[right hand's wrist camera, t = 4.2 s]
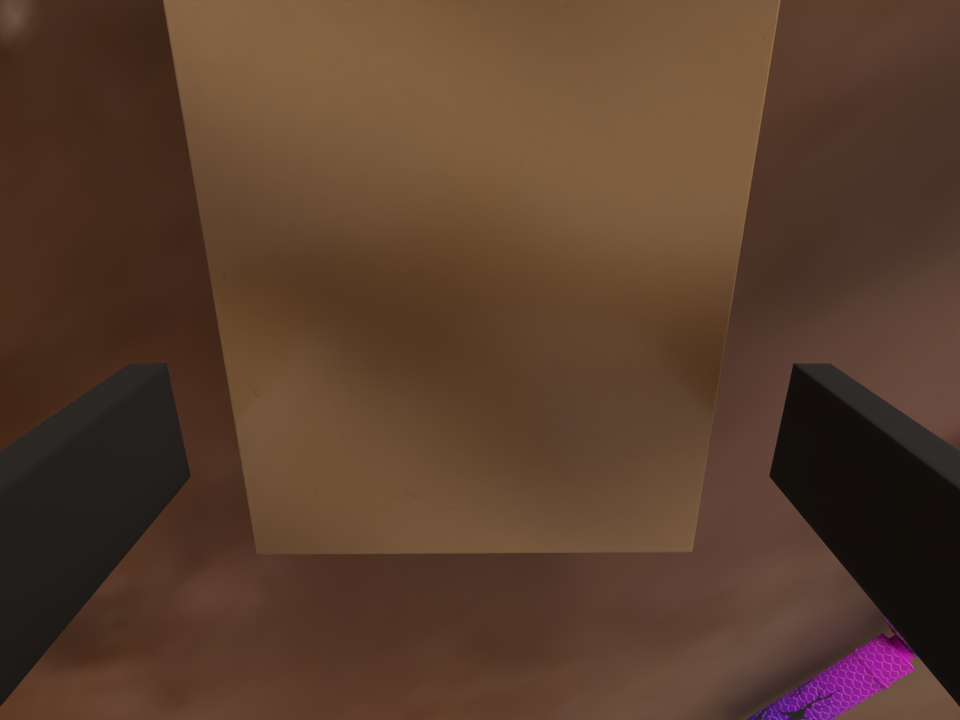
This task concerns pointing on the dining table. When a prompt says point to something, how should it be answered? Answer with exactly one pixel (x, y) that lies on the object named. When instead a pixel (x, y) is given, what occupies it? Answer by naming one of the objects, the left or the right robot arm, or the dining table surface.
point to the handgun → (845, 681)
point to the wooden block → (472, 260)
